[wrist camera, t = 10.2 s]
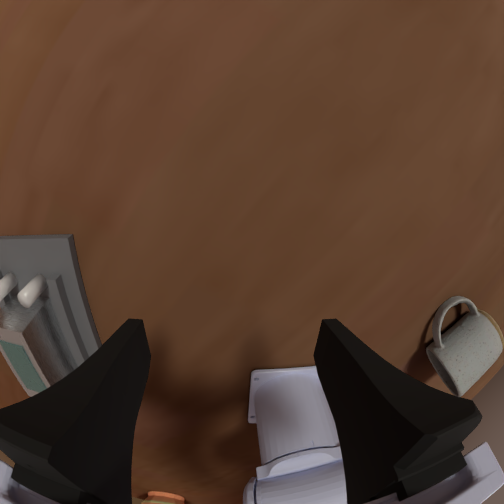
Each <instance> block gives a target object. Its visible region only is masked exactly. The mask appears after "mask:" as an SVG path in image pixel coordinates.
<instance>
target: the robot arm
mask: <svg viewBox="0 0 504 504" xmlns="http://www.w3.org/2000/svg"><path fill="white" fill-rule="evenodd" d="M150 360H151V354H150V350H149V346H148V342H147V337H146V333H145V328H144V324H143V320H141V319H128V320H127V321H126V322H125V323H124V324H123V325H122V326H121V327H120V328H119V329H118V330H117V331H116V332H115V333H114V334H113V335H112V336H111V337H110V338H109V339H108V340H107V341H106V342H105V343H104V344H103V345H102V346H101V347H100V348H99V349H98V350H97V351H96V352H94V353H93V354H92V355H91V356H90V357H89V358H88V359H87V360H86V361H84V362H83V363H82V364H81V365H80V366H79V367H77V368H76V369H75V370H74V371H72V372H71V373H70V374H68V375H67V376H65V377H64V378H63V379H61V380H60V381H58V382H56V383H55V384H53V385H52V386H50V387H48V388H47V389H45V390H43V391H42V392H40V393H38V394H36V395H34V396H32V397H30V398H28V399H25V400H23V401H21V402H18V403H16V404H13V405H10V406H7V407H5V408H1V409H0V450H1V451H2V452H4V453H5V454H6V455H7V456H8V457H9V458H10V459H11V460H13V461H14V462H15V465H14V468H13V467H11V466H10V465H8V464H7V463H5V462H3V461H2V460H0V504H132V495H131V465H132V449H133V439H134V431H135V425H136V420H137V416H138V412H139V408H140V405H141V401H142V397H143V393H144V390H145V386H146V382H147V379H148V373H149V367H150ZM314 360H315V365H316V366H310V367H298V368H284V369H265V370H254V371H252V372H251V382H250V396H249V410H248V422H249V423H257V431H258V439H259V448H260V456H261V464H262V466H260V467H256V473H257V477H252V478H251V479H250V480H249V481H248V483H247V485H246V486H245V488H244V492H243V504H481V503H482V502H484V501H485V500H486V499H487V498H488V497H489V496H491V495H492V494H493V493H494V492H495V491H497V490H498V489H499V488H500V487H501V486H502V485H503V484H504V474H503V472H502V469H501V467H500V465H499V464H498V462H497V460H496V458H495V456H494V454H493V453H492V451H491V449H490V447H489V445H488V443H487V442H484V443H483V444H481V445H479V446H478V447H476V448H474V449H473V450H471V451H470V452H468V453H467V454H466V455H464V456H463V455H462V453H461V451H462V450H463V449H464V446H463V444H462V441H463V440H464V439H465V438H466V437H467V436H468V435H469V434H470V433H471V432H472V431H473V430H474V429H475V428H476V427H477V426H478V424H479V423H480V421H481V419H482V415H481V413H480V411H479V410H478V408H477V407H476V405H475V404H474V402H473V401H472V400H468V399H465V398H461V397H457V396H454V395H451V394H448V393H445V392H442V391H440V390H437V389H435V388H432V387H430V386H428V385H426V384H424V383H422V382H420V381H418V380H416V379H414V378H412V377H410V376H409V375H407V374H405V373H404V372H402V371H401V370H399V369H397V368H396V367H394V366H393V365H391V364H390V363H388V362H387V361H386V360H384V359H383V358H382V357H380V356H379V355H378V354H377V353H375V352H374V351H373V350H372V349H370V348H369V347H368V346H367V345H366V344H364V343H363V342H362V341H361V340H360V339H359V338H358V337H356V336H355V335H354V334H353V333H352V332H351V331H350V330H349V329H347V328H346V327H345V326H344V325H343V324H342V323H341V322H339V321H338V320H337V319H323V320H322V323H321V327H320V331H319V335H318V339H317V343H316V347H315V351H314Z"/></svg>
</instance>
